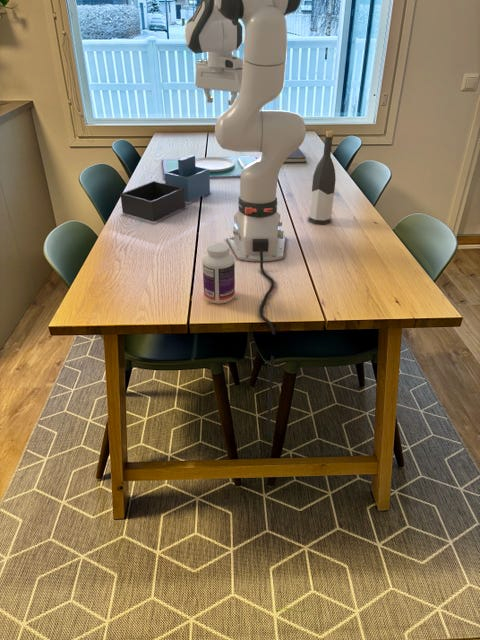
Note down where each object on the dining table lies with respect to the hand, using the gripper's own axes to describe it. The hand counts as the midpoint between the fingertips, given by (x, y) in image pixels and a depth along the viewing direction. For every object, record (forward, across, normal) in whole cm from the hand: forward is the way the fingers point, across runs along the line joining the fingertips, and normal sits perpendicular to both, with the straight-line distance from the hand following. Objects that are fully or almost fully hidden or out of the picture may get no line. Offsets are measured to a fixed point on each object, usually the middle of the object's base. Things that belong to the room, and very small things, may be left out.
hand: (220, 103), depth 171 cm
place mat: (+33, -22, +26) cm, 48 cm away
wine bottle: (+33, +45, -4) cm, 56 cm away
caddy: (+33, -8, -11) cm, 36 cm away
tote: (+33, -8, -31) cm, 46 cm away
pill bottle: (+33, +45, -67) cm, 88 cm away
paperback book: (+33, -3, +63) cm, 71 cm away
